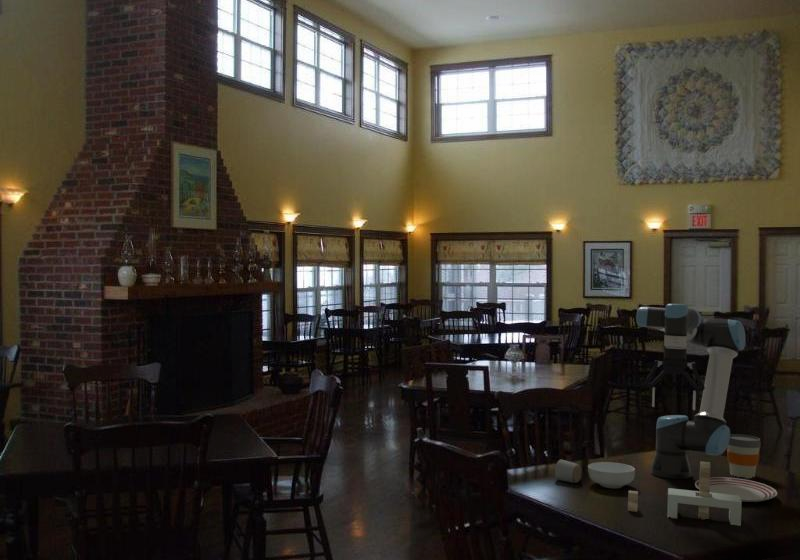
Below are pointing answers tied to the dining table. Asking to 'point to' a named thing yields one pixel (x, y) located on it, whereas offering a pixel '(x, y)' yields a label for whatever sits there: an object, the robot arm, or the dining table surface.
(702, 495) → the tall pin
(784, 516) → the dining table surface
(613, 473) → the cereal bowl
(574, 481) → the ceramic mug
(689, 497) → the bridge
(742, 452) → the reusable coffee cup
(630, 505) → the short pin
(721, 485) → the dinner plate
